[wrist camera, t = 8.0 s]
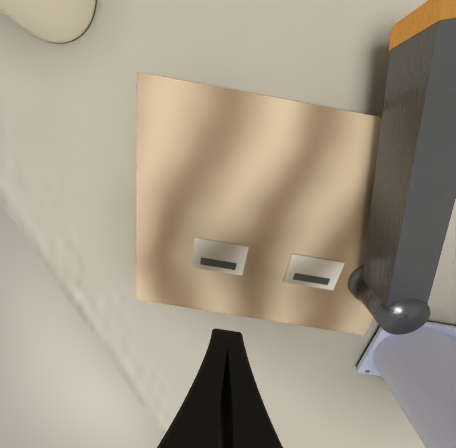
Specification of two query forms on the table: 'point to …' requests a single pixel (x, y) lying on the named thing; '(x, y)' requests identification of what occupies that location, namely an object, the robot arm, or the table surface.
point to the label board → (252, 204)
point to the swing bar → (413, 169)
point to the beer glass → (51, 17)
